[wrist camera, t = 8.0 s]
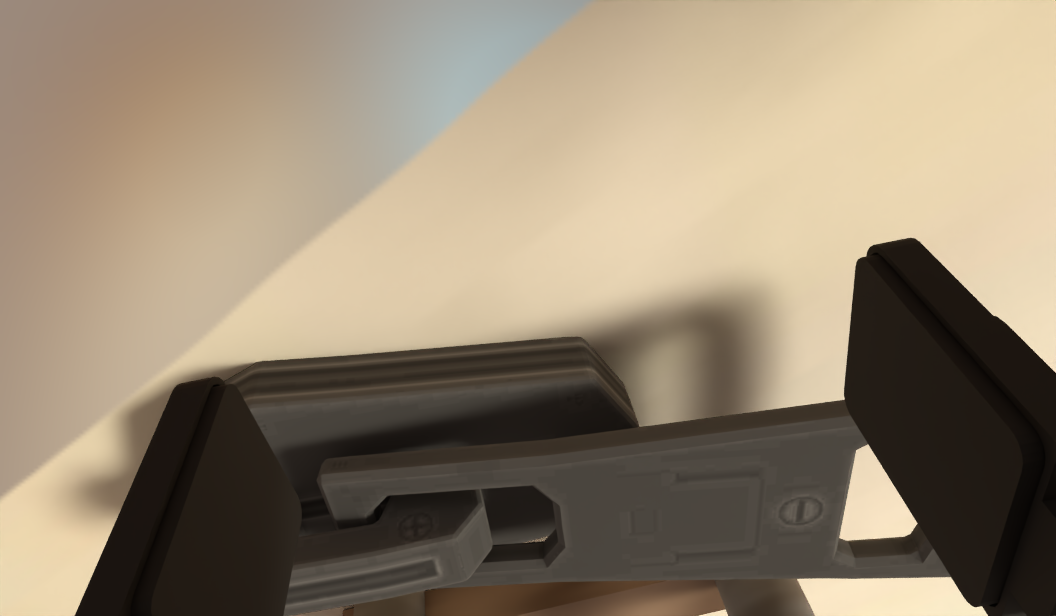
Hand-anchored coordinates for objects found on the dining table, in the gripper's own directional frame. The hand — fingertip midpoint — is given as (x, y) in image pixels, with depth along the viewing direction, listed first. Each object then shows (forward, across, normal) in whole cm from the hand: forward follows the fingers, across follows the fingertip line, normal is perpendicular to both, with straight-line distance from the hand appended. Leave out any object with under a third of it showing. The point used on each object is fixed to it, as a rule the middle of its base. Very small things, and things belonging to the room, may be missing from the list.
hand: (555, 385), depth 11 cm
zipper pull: (+11, 0, +11) cm, 15 cm away
